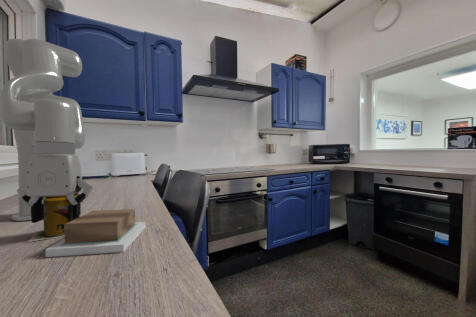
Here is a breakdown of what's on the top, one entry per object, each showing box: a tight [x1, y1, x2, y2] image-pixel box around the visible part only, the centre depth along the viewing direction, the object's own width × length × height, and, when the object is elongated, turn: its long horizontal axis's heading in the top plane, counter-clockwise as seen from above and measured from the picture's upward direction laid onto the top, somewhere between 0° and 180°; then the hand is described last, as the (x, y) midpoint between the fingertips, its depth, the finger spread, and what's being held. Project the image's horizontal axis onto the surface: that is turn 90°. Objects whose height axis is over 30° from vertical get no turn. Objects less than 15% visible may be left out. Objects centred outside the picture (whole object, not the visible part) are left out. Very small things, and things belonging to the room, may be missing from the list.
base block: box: [64, 208, 136, 244], centre depth 46 cm, size 10×10×4 cm
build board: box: [45, 221, 147, 258], centre depth 46 cm, size 14×14×2 cm
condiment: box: [27, 196, 71, 243], centre depth 49 cm, size 7×8×12 cm
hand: (56, 219), depth 49 cm, fingers open, 7 cm apart
